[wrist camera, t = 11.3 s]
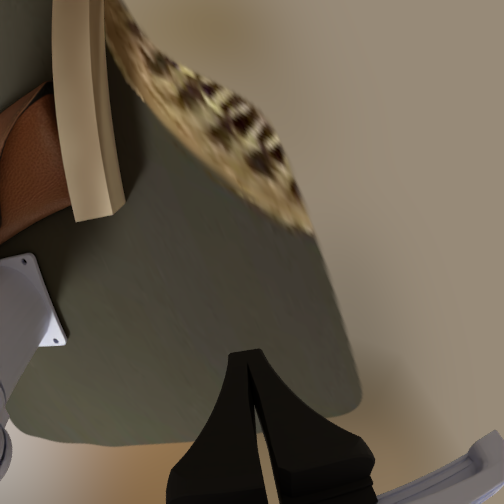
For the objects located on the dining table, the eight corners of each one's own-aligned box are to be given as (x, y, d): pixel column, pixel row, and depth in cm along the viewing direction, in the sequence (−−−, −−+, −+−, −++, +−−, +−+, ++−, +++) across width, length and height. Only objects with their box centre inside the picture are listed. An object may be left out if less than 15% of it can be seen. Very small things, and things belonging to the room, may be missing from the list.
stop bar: (92, 209, 19) (75, 222, 16) (73, -30, 12) (57, -47, 9) (125, 202, 19) (113, 214, 16) (104, -41, 12) (92, -60, 9)
